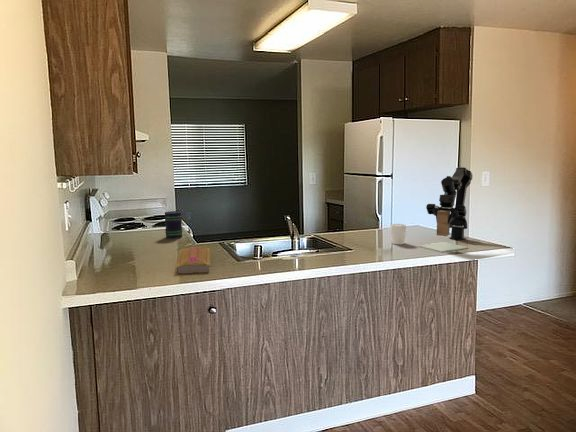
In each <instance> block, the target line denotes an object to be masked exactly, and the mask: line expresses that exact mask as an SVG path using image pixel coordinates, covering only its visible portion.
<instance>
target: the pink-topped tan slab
mask: <svg viewBox="0 0 576 432" xmlns="http://www.w3.org/2000/svg"><path fill="white" fill-rule="evenodd" d="M178 251H179V252H178V254H177V259H176V262H175V263H176V264H175V268H177V274H179V273H182V274H194V273H193V272H199V273H209V272H208V271H209V270H210V269H209V267H210V266H211V254H210V253H211V250H210V248H209V247H202V246H191V247H185V248H182V249H179V250H178Z"/></svg>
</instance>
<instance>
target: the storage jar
mask: <svg viewBox="0 0 576 432" xmlns="http://www.w3.org/2000/svg"><path fill="white" fill-rule="evenodd" d="M182 219H183V215H182V211H180V210H179V211H177V210H172V211H171V210H170V211H165V212H164V222H165V229H164V230H165V233H164V234H165V239H168V240H170V239H171V240H172V239H173V240H174V239H175V240H176V239H181V238H183V237H184V236H183V225H182V223H183V220H182Z"/></svg>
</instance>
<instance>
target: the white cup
mask: <svg viewBox="0 0 576 432" xmlns="http://www.w3.org/2000/svg"><path fill="white" fill-rule="evenodd" d="M406 229H407V225H406V224H403V223H392V224H390V238H391V241H390V242H391V244H392V245H404V244H405V240H406V231H407V230H406Z"/></svg>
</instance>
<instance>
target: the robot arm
mask: <svg viewBox="0 0 576 432" xmlns="http://www.w3.org/2000/svg"><path fill="white" fill-rule="evenodd" d="M472 180H473V173H472V171H471V170H469V169H467V167H463V166H459V167H456V168H455V172H454V173H453V175H452V176H451V175H447V176H446V177H444V178H443V179H441V181H440V184H441V187H442V191H443V193H444V194H440V195H439V200H438V201H439V205H436V204H435V203H427V204H426V211H427V214H428V215H433V216H435V220H436V222H437V211H439V210H444V211H450V216H449V219H448V224H449V223H450V229H451V232H450V237H448V239H450V240H456V241H461V240H467V237H464V235H465V230H467V229H468V221H467V218H466V216H467V206H465V203H466V202H465V200H466V194H467V188H468V187H469V186H470V184H471V182H472Z"/></svg>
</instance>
